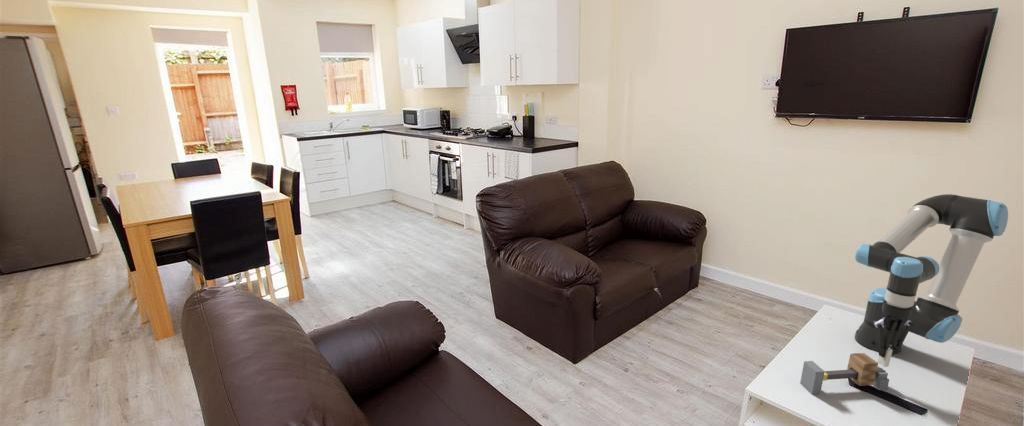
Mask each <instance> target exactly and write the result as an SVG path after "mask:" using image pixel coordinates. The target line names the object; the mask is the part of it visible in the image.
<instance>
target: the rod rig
mask: <svg viewBox="0 0 1024 426" xmlns="http://www.w3.org/2000/svg"><path fill="white" fill-rule="evenodd" d="M801 371H802V372H801V376H800V377H801V378H800V381H799V382H800V383H799V384H800V385H801V386H802V387H803V388H805V390H806V391H808V392H809V394H811V395H819V394H820V395H821V392H822V387H823V382H824V381H828V380H842V379H845V380H846V379H850V378H858V375H859V373H858V372H857V371H855V370H854V369H851V370H847V369H841V370H840V369H838V370H837V369H836V370H823V368H822V367H820V366H819V365H818V364H817V363H816V362H815V361H814V360H806V361H805V360H804V361H803V366H802V370H801ZM888 375H889V373H888V372H887V371H886V370H885V369H884V368H882V367H880V366H879V365H878V367H877V371H876V375H875V379H874V383H873V385H872V387H874V388H875V387H876V388H875V389H877V388H878V389H880V390H879V391H886V390H888V386H889V383H890V379H889V378H888ZM878 389H877V390H878Z"/></svg>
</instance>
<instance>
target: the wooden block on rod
mask: <svg viewBox="0 0 1024 426" xmlns="http://www.w3.org/2000/svg"><path fill="white" fill-rule="evenodd" d="M878 366H879V363H878V361H876V360H875V359H873V357H870V355H868V354H867V353H866V352H858V353H850V355H849V359H848V363H847V368H846V370H851V369H854V370H855V371H857V372H858V373H859V375H858V378H849V379H850V380H851V381H853V382H854V383H855V385H858V387H859V386H860V387H862V386H863V387H865V386H873V383H874V379H875V375H876V371H877V367H878Z"/></svg>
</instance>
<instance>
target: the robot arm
mask: <svg viewBox="0 0 1024 426" xmlns="http://www.w3.org/2000/svg"><path fill="white" fill-rule="evenodd" d="M1008 220H1009V210H1008V207H1007V205H1006V204H1005V203H1003V202H999V201H994V200H991V199H983V198H978V197H977V198H976V197H969V196H963V195H958V194H952V193H951V194H950V193H949V194H944V193H943V194H938V195H934V196H931V197H928V198H924V199H922V200H920V201H918V202H917V203H915V204H914V205H913V206H911V207H910V208H909V209H908V211H907V215H905V216H904V217H903V218H902V219H900V220H899V222H897V223H896V224H895V225H894V226H893V227H892V228H891V229H889V230H888V231H887V232H886V233H885V234H883V236H881V238H879V239H878V240H877V241H876V242H874V243H873V244H868V243H862V244H860V245H859V246H858V247H857V248H856V251H855V255H854V258H855V261H856V263H859V264H862V265H864V266H867V267H870V268H873V269H876V270H880V271H884V272H887V273H889V277H888V281H887V285H886V287H880V288H874V289H872V290H871V291H870V293H869V296H868V299H867V305H866V310H865V313H864V317H863V318H864V319H863V322H862V323H861V324H860V326H859V327H858V329H857V330H855V333H854V340H855V341H856V342H857V343H858V344H859V345H861V346H862V347H864V348H866V349H868V350H870V351H874V352H876V353H877V352H878V359H877V360H878V361H877V363H878V364H880V365H881V366H883V367H884V368H886V367H887V368H888V367H889V366H890V362H891V358H892V357H893V355H896V354H899V353H901V352H902V350H903V347H904V342H905V339H906V338H907V335H908V333H912V334H915V335H917V336H919V337H922V338H924V339H926V340H931V341H933V342H936V343H940V344H941V343H943V344H944V343H947V342H948V341H949V340H951V339H952V338H953V337H954V336H955V335H956V333H958V331H959V329H960V328H961V324H962V321H963V317H962V316H961V315H959V312H960V309H959V307H958V306H957V303H958V301H959V298H960V296H961V295H962V292H963V289H964V288H965V285H966V284H967V281H968V279H969V276H970V274H971V273H972V270H973V268H974V266H975V263H976V262H977V261H978V257H979V255H980V253H981V251H982V249H983V247H984V244H986V243H988V242H992V241H993V240H994V237H995V236H996V237H1001V236H1003V234H1004V232H1005V231H1006V229H1007V224H1008ZM936 225H945V226H950V227H949V229H948V230H949V232H950V233H951V238H950V240H949V242H948V244H947V246H946V249H945V250H944V251H945V252H944V253H943V256H942V258H941V260H940V262H939V263H938V262H937V260H935V259H934V258H932V257H930V256H917V257H916V256H913V255H908V254H904V253H902V252H903V251H904V250H906V248H907V247H908V246H909V245H910V244H912V242H914V241H915V240H916V239H917V238H919V236H920V235H922V234H923V233H924V232H925V231H926V230H927V229H928V228H933V227H935V226H936ZM930 280H931V281H930ZM926 281H930V283H929V286H928V287H927V290H926V293H925V294H923V295H920V296H918V297H917V292H918V288H919V285H920V284H922V283H924V282H926ZM916 297H917V298H916Z"/></svg>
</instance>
